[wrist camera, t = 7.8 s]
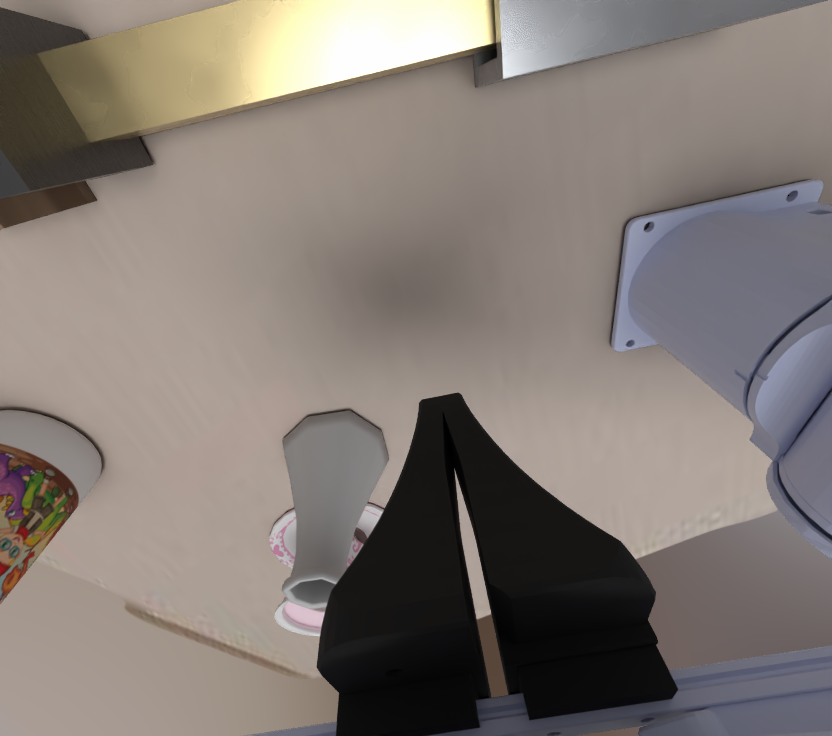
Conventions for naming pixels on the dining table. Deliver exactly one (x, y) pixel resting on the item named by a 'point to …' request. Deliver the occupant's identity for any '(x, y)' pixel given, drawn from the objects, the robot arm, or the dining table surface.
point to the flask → (328, 497)
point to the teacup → (285, 551)
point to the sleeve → (602, 29)
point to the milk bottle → (38, 486)
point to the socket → (43, 203)
